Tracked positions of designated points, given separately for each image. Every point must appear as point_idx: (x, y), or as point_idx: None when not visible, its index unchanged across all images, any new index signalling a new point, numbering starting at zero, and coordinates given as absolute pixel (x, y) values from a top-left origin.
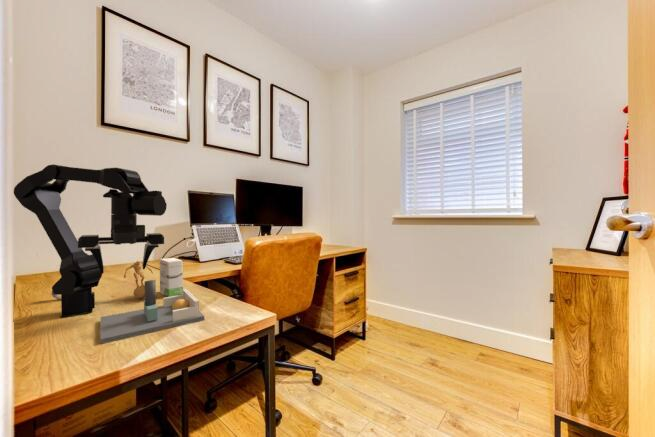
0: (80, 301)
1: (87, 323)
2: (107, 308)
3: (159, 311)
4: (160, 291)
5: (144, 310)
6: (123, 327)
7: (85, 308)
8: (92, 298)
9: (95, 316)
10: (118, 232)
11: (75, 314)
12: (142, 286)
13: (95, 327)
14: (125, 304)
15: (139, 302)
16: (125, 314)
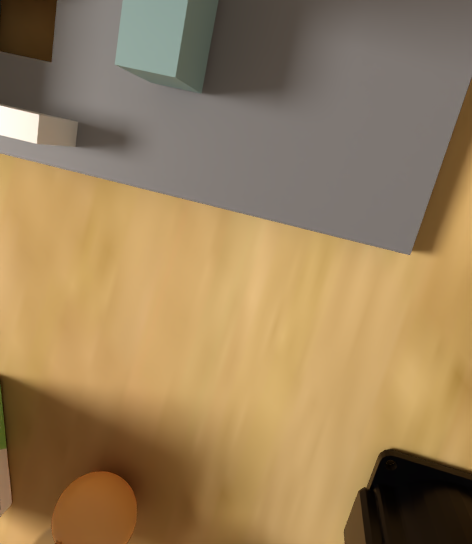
0: (456, 537)
1: (469, 269)
2: (298, 456)
3: None
4: (6, 498)
5: (201, 58)
6: None
7: (411, 494)
8: (377, 542)
9: (392, 365)
10: None
11: (463, 474)
12: (68, 537)
13: (468, 147)
14: (207, 445)
15: (143, 416)
16: (289, 177)
